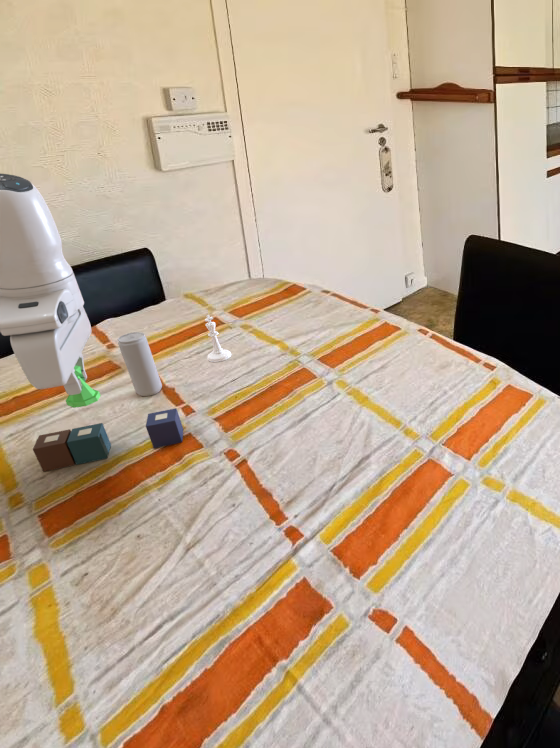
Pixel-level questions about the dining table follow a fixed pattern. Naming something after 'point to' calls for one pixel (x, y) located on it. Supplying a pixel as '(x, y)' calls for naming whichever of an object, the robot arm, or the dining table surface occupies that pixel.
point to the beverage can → (140, 363)
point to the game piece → (82, 393)
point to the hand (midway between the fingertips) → (78, 387)
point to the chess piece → (215, 344)
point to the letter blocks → (100, 441)
